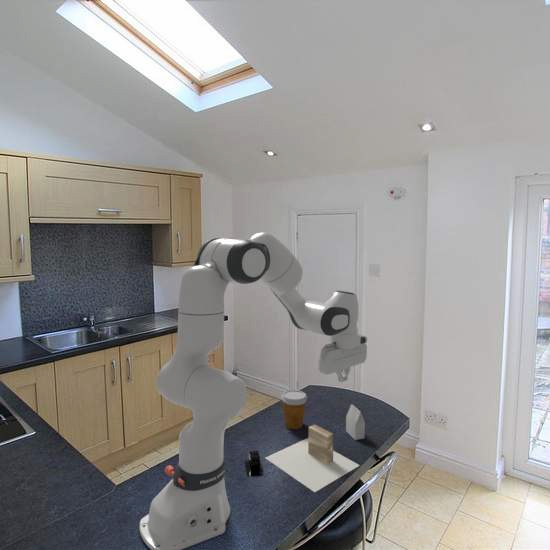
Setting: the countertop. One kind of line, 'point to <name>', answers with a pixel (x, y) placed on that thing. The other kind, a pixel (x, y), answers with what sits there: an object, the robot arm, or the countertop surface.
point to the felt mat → (310, 466)
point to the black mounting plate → (253, 464)
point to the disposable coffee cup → (294, 408)
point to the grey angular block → (355, 423)
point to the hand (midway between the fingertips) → (342, 380)
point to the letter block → (320, 443)
